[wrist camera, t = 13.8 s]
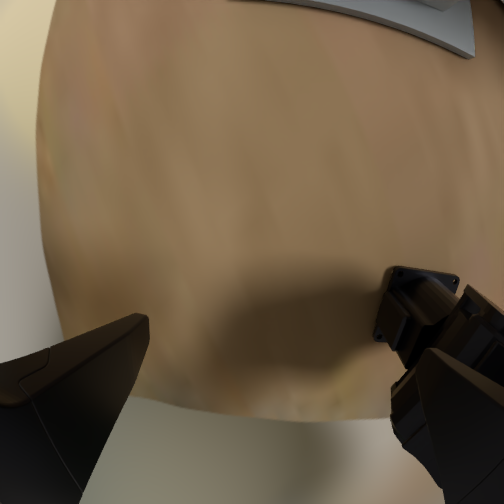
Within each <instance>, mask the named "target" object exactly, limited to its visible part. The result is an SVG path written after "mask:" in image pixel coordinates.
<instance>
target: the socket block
mask: <svg viewBox="0 0 504 504" xmlns="http://www.w3.org/2000/svg"><path fill="white" fill-rule="evenodd" d="M267 1H276V2H284V3H292V4H298V5H305V6H311V7H316V8H321V9H326V10H331V11H336V12H340V13H344V14H348V15H352V16H356V17H360V18H364V19H367V20H371V21H374V22H377V23H381V24H384V25H387V26H390V27H393V28H396V29H399V30H402V31H404V32H407V33H410V34H413V35H415V36H418V37H420V38H423V39H425V40H428V41H430V42H432V43H435V44H437V45H439V46H442V47H444V48H446V49H448V50H450V51H452V52H455V53H457V54H459V55H461V56H463V57H465V58H467V59H471V58H474V57H475V44H474V30H473V20H472V12H471V4H470V0H267Z"/></svg>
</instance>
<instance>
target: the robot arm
mask: <svg viewBox="0 0 504 504" xmlns="http://www.w3.org/2000/svg"><path fill="white" fill-rule="evenodd" d="M399 271H402V272H401V274H400V275H398V272H399ZM454 279H455V281H454V282H453V280H454ZM459 281H460V279H459V277H458V276H457V275H455V274H449V273H443V272H436V271H430V270H423V269H417V268H410V267H404V266H397V267H396V268H395V269H394V270H393V273H392V276H391V280H390V283H389V287H388V290H387V292H385V293H384V296H383V299H382V303H381V306H380V309H379V312H378V315H377V318H376V323H377V324H376V326H375V329H374V332H373V338H374V340H375V341H376V342H387V343H388V344H389V346H390V348H391V350H392V351H396V352H397V354H398V356H399V358H400V360H401V361H402V363H403V365H404V367H405V369H408V370H407V371H406V372H405V374H404V375H403V376H402V377H401V378H400V379H399V381H398V382H395V383H394V384H393V385H392V387H391V414H390V421H391V423H392V428H393V432H394V434H395V435H396V437H397V438H398V440H399V441H400V442H401V444H402V447H403V448H404V449H405V450H406V451H408V452H409V453H410V454H412V455H413V456H414V457H416V459H417V460H418V461H419V462H420V463H421V464H422V465H423V466H424V467H425V468H426V469H427V471H428V472H429V474H430V475H431V476H432V478H433V479H434V481H435V482H436V484H437V485H438V487H440V488H441V489H443V494H444V500H445V504H504V311H503V310H502V309H500V308H499V307H498V306H497V305H495V304H494V303H493V302H491V301H490V300H489V299H487V298H486V297H485V296H483V295H482V294H481V293H479V292H478V291H477V290H475V289H474V288H473V287H471V286H470V285H468V284H467V286H466V287H465V289H464V293H463V295H462V297H461V298H460V299H459V298H458V297H457V296H456V295H455V293H456V290H457V288H458V285H459ZM379 334H381V335H380V336H379V337H377V336H378V335H379ZM149 340H150V334H149V318H148V316H147V315H144V314H139V313H134V314H131V315H129V316H126V317H124V318H121V319H119V320H116V321H114V322H111V323H109V324H106V325H104V326H101V327H99V328H96V329H94V330H91V331H89V332H86V333H84V334H81V335H79V336H76V337H74V338H71V339H69V340H66V341H64V342H61V343H58V344H56V345H53V346H51V347H50V348H45V349H43V350H41V351H38V352H35V353H32V354H30V355H27V356H24V357H21V358H17V359H14V360H11V361H8V362H4V363H0V504H79V502H80V500H81V497H82V495H83V492H84V490H85V488H86V485H87V483H88V481H89V479H90V476H91V474H92V472H93V470H94V468H95V465H96V463H97V461H98V459H99V457H100V454H101V452H102V450H103V448H104V446H105V444H106V442H107V439H108V437H109V435H110V433H111V431H112V429H113V427H114V424H115V422H116V420H117V419H118V416H119V414H120V412H121V410H122V408H123V406H124V404H125V402H126V400H127V398H128V396H129V394H130V392H131V390H132V388H133V386H134V384H135V381H136V379H137V376H138V373H139V370H140V367H141V364H142V362H143V359H144V356H145V353H146V351H147V348H148V345H149Z"/></svg>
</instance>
